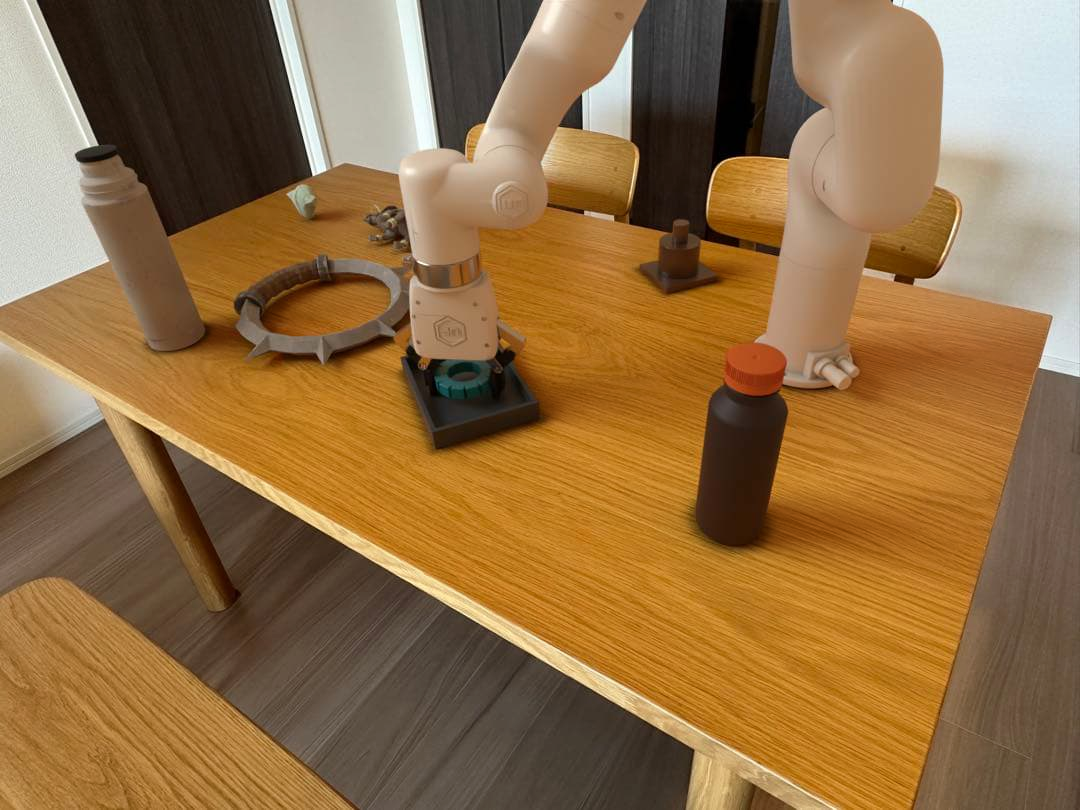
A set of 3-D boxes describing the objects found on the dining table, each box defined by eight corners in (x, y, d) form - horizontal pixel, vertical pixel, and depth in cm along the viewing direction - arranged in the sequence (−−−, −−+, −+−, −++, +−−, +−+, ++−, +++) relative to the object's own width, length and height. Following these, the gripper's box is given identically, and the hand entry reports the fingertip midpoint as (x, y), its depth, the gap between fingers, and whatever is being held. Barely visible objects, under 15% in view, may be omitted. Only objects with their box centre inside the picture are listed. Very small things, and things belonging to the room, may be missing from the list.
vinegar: (762, 553, 67) (799, 386, 54) (691, 540, 68) (711, 376, 56) (764, 502, 72) (798, 340, 59) (697, 492, 73) (717, 332, 61)
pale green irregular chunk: (289, 217, 139) (280, 184, 135) (306, 210, 142) (297, 178, 138) (314, 226, 135) (305, 192, 131) (331, 218, 138) (322, 185, 133)
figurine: (334, 211, 127) (396, 181, 138) (343, 242, 130) (402, 211, 141) (417, 223, 117) (476, 190, 128) (424, 257, 120) (481, 222, 132)
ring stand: (717, 281, 109) (723, 227, 104) (666, 293, 107) (670, 239, 101) (687, 258, 116) (691, 206, 110) (639, 269, 114) (641, 217, 108)
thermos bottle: (138, 343, 104) (46, 155, 87) (183, 318, 109) (105, 136, 92) (171, 356, 100) (82, 163, 83) (216, 330, 106) (141, 143, 88)
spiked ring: (183, 336, 104) (311, 411, 90) (173, 310, 101) (302, 383, 87) (353, 252, 124) (479, 301, 110) (348, 228, 122) (477, 276, 107)
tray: (539, 419, 85) (538, 402, 83) (435, 449, 81) (431, 432, 80) (495, 348, 97) (493, 333, 96) (403, 372, 94) (400, 356, 92)
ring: (502, 390, 86) (501, 379, 85) (445, 405, 84) (443, 395, 83) (484, 359, 92) (483, 349, 91) (430, 373, 90) (428, 363, 89)
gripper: (363, 279, 76) (392, 405, 87) (518, 283, 74) (528, 412, 85) (385, 249, 82) (410, 370, 93) (529, 252, 80) (538, 376, 91)
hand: (466, 390), depth 89 cm, fingers closed on ring, 7 cm apart
